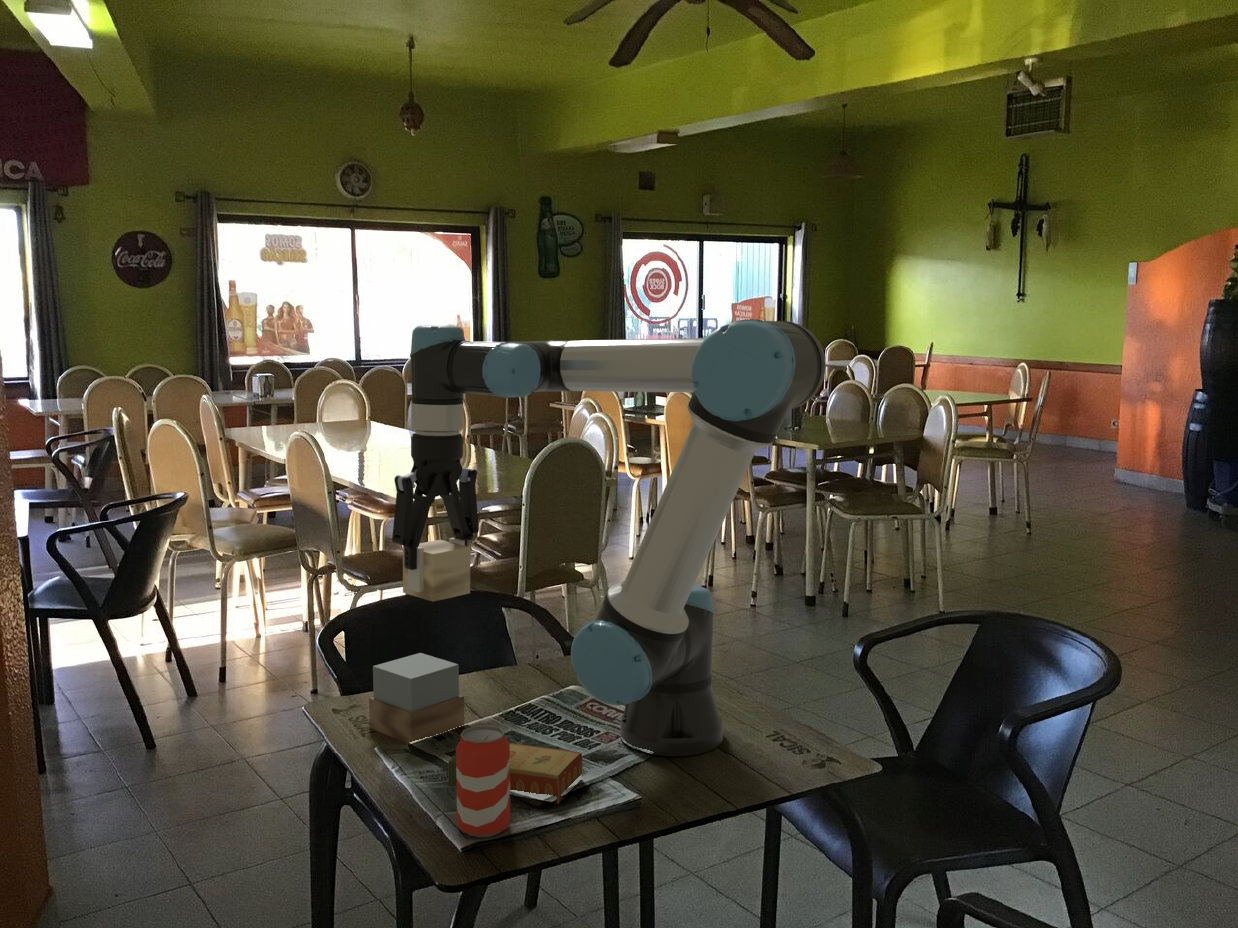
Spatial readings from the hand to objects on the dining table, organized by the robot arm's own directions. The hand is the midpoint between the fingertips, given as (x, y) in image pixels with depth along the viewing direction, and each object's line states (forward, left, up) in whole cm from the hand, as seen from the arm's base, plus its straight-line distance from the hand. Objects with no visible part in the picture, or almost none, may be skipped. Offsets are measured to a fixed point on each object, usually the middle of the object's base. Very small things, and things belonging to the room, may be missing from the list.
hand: (436, 585), depth 162 cm
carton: (-23, +6, -22) cm, 33 cm away
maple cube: (0, 0, -1) cm, 1 cm away
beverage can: (-30, +18, -22) cm, 41 cm away
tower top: (+3, +2, -17) cm, 18 cm away
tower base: (+3, +2, -22) cm, 23 cm away
